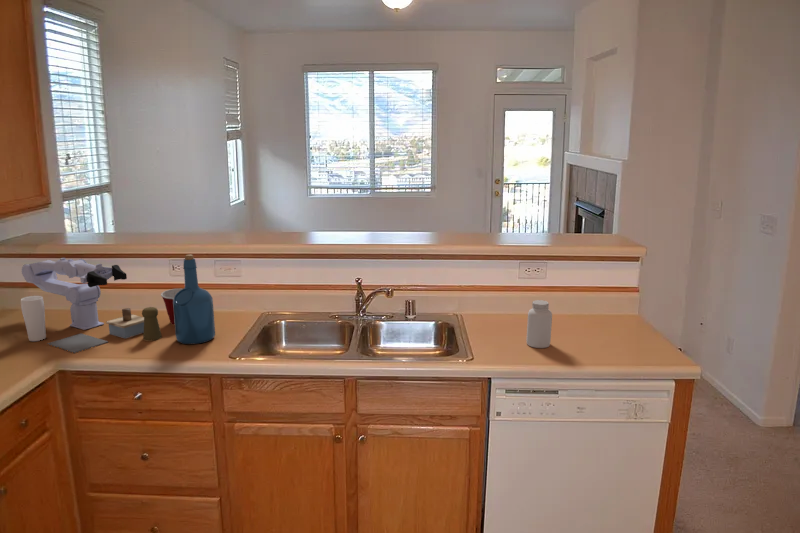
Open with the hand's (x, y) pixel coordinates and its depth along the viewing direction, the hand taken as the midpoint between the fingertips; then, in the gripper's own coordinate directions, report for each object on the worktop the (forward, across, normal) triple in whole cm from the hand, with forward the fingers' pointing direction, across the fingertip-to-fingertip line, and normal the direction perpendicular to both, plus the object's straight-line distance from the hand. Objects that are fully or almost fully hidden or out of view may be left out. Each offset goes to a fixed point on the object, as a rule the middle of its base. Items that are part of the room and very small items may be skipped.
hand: (116, 279), depth 212 cm
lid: (+1, +2, +16) cm, 17 cm away
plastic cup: (+8, +18, +21) cm, 29 cm away
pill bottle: (+134, +62, +16) cm, 148 cm away
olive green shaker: (+14, +2, +20) cm, 24 cm away
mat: (-4, -14, +20) cm, 25 cm away
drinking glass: (-20, -19, +21) cm, 35 cm away
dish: (+2, +2, +20) cm, 21 cm away
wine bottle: (+28, +9, +19) cm, 35 cm away
